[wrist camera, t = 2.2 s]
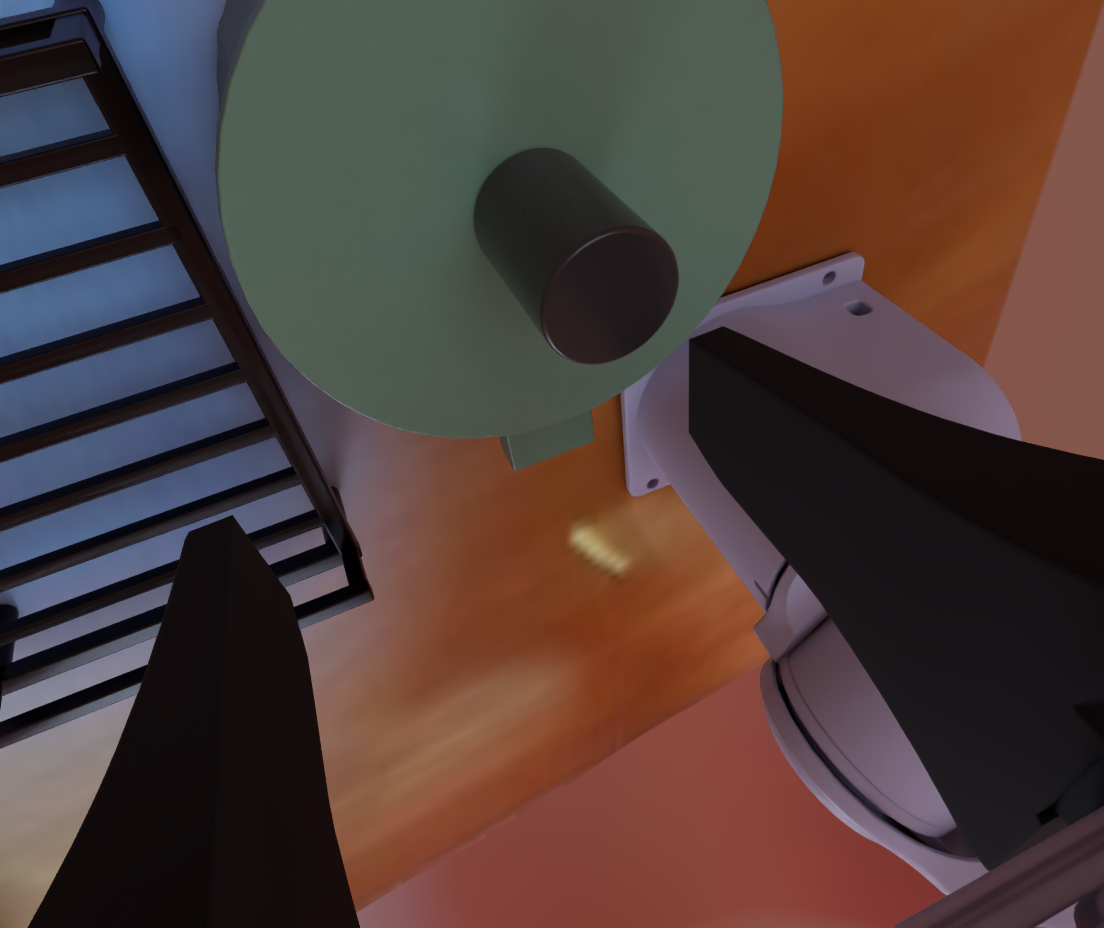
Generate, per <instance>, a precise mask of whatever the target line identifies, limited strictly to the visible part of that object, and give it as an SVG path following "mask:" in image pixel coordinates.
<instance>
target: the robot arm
mask: <svg viewBox="0 0 1104 928" xmlns="http://www.w3.org/2000/svg"><path fill="white" fill-rule="evenodd" d="M864 264H865V260H864V258H863V257H862V256H861V255H859V254H858V253H855V252H849V253H847V254H844V255H841V256H838V257H835V258H832V259H830V260H827V261H824V262H821V263H818V264H815V265H812V266H810V267H807V268H804V269H801V270H798V271H795V272H792V273H790V274H787V275H784V276H781V277H778V278H775V279H773V280H770V281H767V282H764V283H761V284H758V285H755V286H753V287H750V288H747V289H744V290H741V291H738V292H735V293H733V294H730V295H727V296H724V297H721V298H719V299H718V301H717V302H716V303H715V305H714V306H713V307H712V309H711V310H710V311H709V313H708V314H707V316H706V317H705V318H704V319H703V320H702V321H701V323H700V324H699V325H698V326H697V327H696V328H695V329H694V331H693V332H692V333H691V334H690V335H689V336H688V337H687V339H686V340H685V341H684V342H683V343H682V344H681V345H680V346H679V347H677V348H676V349H675V350H674V351H673V352H672V353H671V354H670V355H669V356H668V357H667V358H666V359H665V360H664V361H663V362H661V363H660V364H659V365H658V366H657V367H655V368H654V369H653V370H652V371H650V372H649V373H648V374H647V375H645V376H644V377H643V378H642V379H640V380H639V381H637V382H636V383H634V384H633V385H631V386H630V387H628V388H627V389H625V390H624V391H622V392H621V393H620V394H621V410H622V426H623V442H624V458H625V474H626V487H627V490H628V491H629V493H630V494H631V495H632V496H636V497H638V496H642V495H644V494H647V493H649V492H652V491H654V490H657V489H659V488H662V487H664V486H667V485H669V484H670V485H671V486H672V487H673V489H674V490H675V491H676V493H677V494H678V496H679V497H680V498H681V500H682V501H683V502H684V504H685V505H686V506H687V508H688V509H689V510H690V512H691V513H692V514H693V516H694V517H695V519H696V520H697V521H698V523H699V524H700V525H701V527H702V528H703V529H704V531H705V532H706V533H707V535H708V536H709V537H710V539H711V540H712V542H713V543H714V544H715V546H716V547H717V548H718V550H719V551H720V552H721V554H722V555H723V556H724V558H725V559H726V560H727V562H728V563H729V565H730V566H731V567H732V569H733V570H734V571H735V573H736V574H737V575H738V577H739V578H740V579H741V581H742V582H743V583H744V585H745V586H746V587H747V589H748V590H749V592H750V593H751V594H752V596H753V597H754V598H755V600H756V601H757V602H758V604H759V605H760V606H761V608H762V609H763V610H764V612H765V614H764V616H763V617H762V618H761V620H760V621H759V622H758V623H757V624H756V625H755V626H754V627H753V631H754V633H755V634H756V635H757V637H758V638H759V640H760V641H761V642H762V644H763V645H764V647H765V648H766V650H767V651H768V652H769V654H770V655H771V657H770V658H769V659H768V660H767V661H766V663H765V664H764V665H763V667H762V670H761V674H760V688H761V693H762V698H763V702H764V709H765V714H766V717H767V720H768V723H769V726H770V729H771V731H772V733H773V735H774V737H775V740H776V742H777V743H778V745H779V747H780V749H781V751H782V752H783V754H784V756H785V757H786V759H787V760H788V762H789V763H790V765H791V766H792V768H793V769H794V770H795V772H796V773H797V775H798V776H799V777H800V778H801V780H802V781H803V782H804V783H805V785H806V786H807V787H808V788H809V789H810V790H811V792H812V793H813V794H814V795H815V796H816V797H817V798H818V799H819V800H820V801H821V802H822V803H823V805H825V806H826V807H827V808H828V809H829V810H830V811H831V812H832V813H833V814H834V815H836V817H838V818H839V819H840V820H841V821H842V822H844V823H845V824H846V825H847V826H849V827H850V828H852V829H853V830H855V831H856V832H857V833H859V834H861V835H863V836H864V837H866V838H868V839H870V840H871V841H874V842H876V843H879V844H881V845H882V846H884V847H885V848H887V849H888V850H890V851H891V852H893V853H894V854H896V855H898V856H899V857H900V858H902V859H903V860H904V861H906V862H907V863H908V864H909V865H911V866H912V867H913V868H915V869H916V870H917V871H918V872H919V873H921V874H922V875H923V876H924V877H925V878H927V879H928V880H929V881H930V882H931V883H933V885H935V886H936V887H937V888H938V889H939V890H940V891H941V892H943V893H944V894H946V895H947V896H946V897H944V898H942V899H941V900H939V901H937V902H935V903H934V904H932V905H930V906H929V907H927V908H925V909H923V910H921V911H920V912H918V913H916V914H914V915H913V916H911V917H909V918H907V919H906V920H904V921H902V922H900V923H899V924H897V925H895V926H893V927H892V928H1035V927H1046V928H1104V460H1102V459H1097V458H1092V457H1087V456H1082V455H1078V454H1073V453H1069V452H1065V451H1061V450H1056V449H1052V448H1048V447H1043V446H1039V445H1035V444H1031V443H1026V442H1023V441H1022V438H1021V432H1020V428H1019V424H1018V421H1017V419H1016V416H1015V414H1014V411H1013V409H1012V407H1011V406H1010V404H1009V402H1008V400H1007V398H1006V397H1005V395H1004V393H1003V392H1002V390H1001V389H1000V388H999V386H998V385H997V384H996V382H995V381H994V380H993V378H992V377H991V376H990V375H989V374H988V373H987V372H986V371H985V370H984V369H983V368H982V367H981V366H980V365H978V364H977V363H976V362H975V361H973V360H972V359H971V358H969V357H968V356H967V355H965V354H964V353H962V352H961V351H960V350H958V349H957V348H955V347H954V346H953V345H951V344H950V343H948V342H947V341H946V340H944V339H943V338H942V337H940V336H939V335H937V334H936V333H935V332H933V331H932V330H930V329H929V328H928V327H926V326H925V325H923V324H922V323H921V322H919V321H918V320H916V319H915V318H914V317H912V316H911V315H909V314H908V313H907V312H905V311H904V310H902V309H901V308H900V307H898V306H897V305H895V304H894V303H893V302H891V301H890V300H888V299H887V298H886V297H884V296H883V295H882V294H880V293H879V292H877V291H876V290H875V289H873V288H872V287H870V286H869V285H868V284H866V283H865V282H863V281H862V280H861V279H862V274H863V269H864ZM826 274H827V275H826ZM825 275H826V276H825ZM28 928H360V925H359V922H358V919H357V915H356V911H355V907H354V903H353V900H352V896H351V892H350V888H349V884H348V881H347V877H346V873H345V869H344V865H343V861H342V857H341V853H340V849H339V845H338V841H337V837H336V833H335V829H334V824H333V819H332V814H331V809H330V803H329V798H328V791H327V784H326V777H325V770H324V764H323V757H322V750H321V743H320V736H319V729H318V722H317V715H316V708H315V702H314V695H313V688H312V682H311V675H310V669H309V662H308V656H307V653H306V649H305V645H304V642H303V638H302V634H301V631H300V627H299V624H298V620H297V617H296V613H295V610H294V607H293V603H292V600H291V596H290V594H289V593H288V592H287V590H286V589H285V587H284V586H283V585H282V583H281V582H280V581H279V579H278V578H277V576H276V575H275V574H274V572H273V571H272V569H271V568H270V567H269V565H268V564H267V562H266V561H265V560H264V558H263V557H262V556H261V554H260V553H259V551H258V550H257V549H256V547H255V546H254V544H253V543H252V542H251V540H250V539H249V537H248V536H247V535H246V533H245V532H244V531H243V529H242V528H241V526H240V525H239V524H238V522H237V521H236V519H235V518H234V517H233V515H231V516H229V517H226V518H224V519H221V520H218V521H216V522H213V523H211V524H208V525H205V526H203V527H200V528H198V529H195V530H192V531H190V532H189V533H188V535H187V537H186V539H185V541H184V545H183V548H182V552H181V556H180V560H179V563H178V567H177V571H176V574H175V578H174V581H173V585H172V589H171V592H170V596H169V599H168V602H167V606H166V609H165V612H164V616H163V619H162V623H161V626H160V629H159V632H158V635H157V638H156V641H155V644H154V647H153V650H152V653H151V656H150V659H149V662H148V665H147V668H146V671H145V674H144V677H143V680H142V683H141V686H140V689H139V691H138V694H137V696H136V699H135V702H134V704H133V707H132V709H131V712H130V715H129V717H128V720H127V722H126V725H125V727H124V730H123V733H122V735H121V738H120V740H119V743H118V745H117V748H116V750H115V753H114V755H113V758H112V760H111V762H110V765H109V767H108V769H107V771H106V774H105V776H104V778H103V781H102V783H101V785H100V787H99V790H98V792H97V794H96V796H95V798H94V800H93V803H92V805H91V807H90V809H89V811H88V813H87V815H86V817H85V819H84V821H83V823H82V826H81V828H80V830H79V832H78V834H77V836H76V838H75V840H74V842H73V844H72V846H71V848H70V850H69V852H68V853H67V855H66V857H65V859H64V861H63V863H62V865H61V867H60V869H59V871H58V872H57V874H56V876H55V878H54V880H53V882H52V884H51V886H50V888H49V890H48V891H47V893H46V895H45V897H44V899H43V901H42V903H41V905H40V906H39V908H38V910H37V912H36V914H35V915H34V917H33V919H32V921H31V922H30V924H29V926H28Z"/></svg>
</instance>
